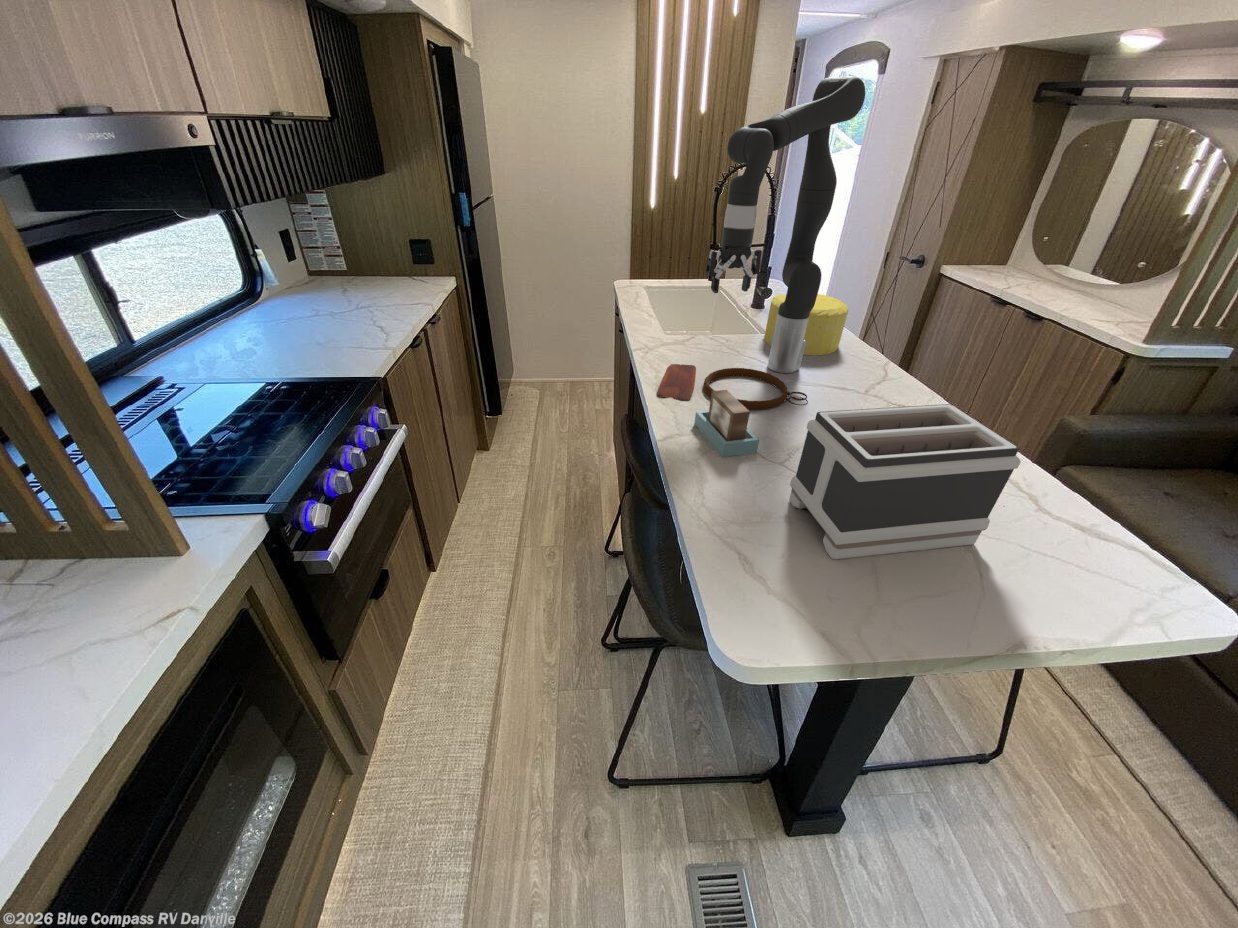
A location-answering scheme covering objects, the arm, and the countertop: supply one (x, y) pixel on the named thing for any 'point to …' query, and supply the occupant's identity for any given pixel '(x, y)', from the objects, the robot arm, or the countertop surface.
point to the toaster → (900, 478)
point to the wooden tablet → (678, 382)
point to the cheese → (815, 324)
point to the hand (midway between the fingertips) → (729, 291)
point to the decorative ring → (757, 375)
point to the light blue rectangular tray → (719, 442)
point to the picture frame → (728, 415)
